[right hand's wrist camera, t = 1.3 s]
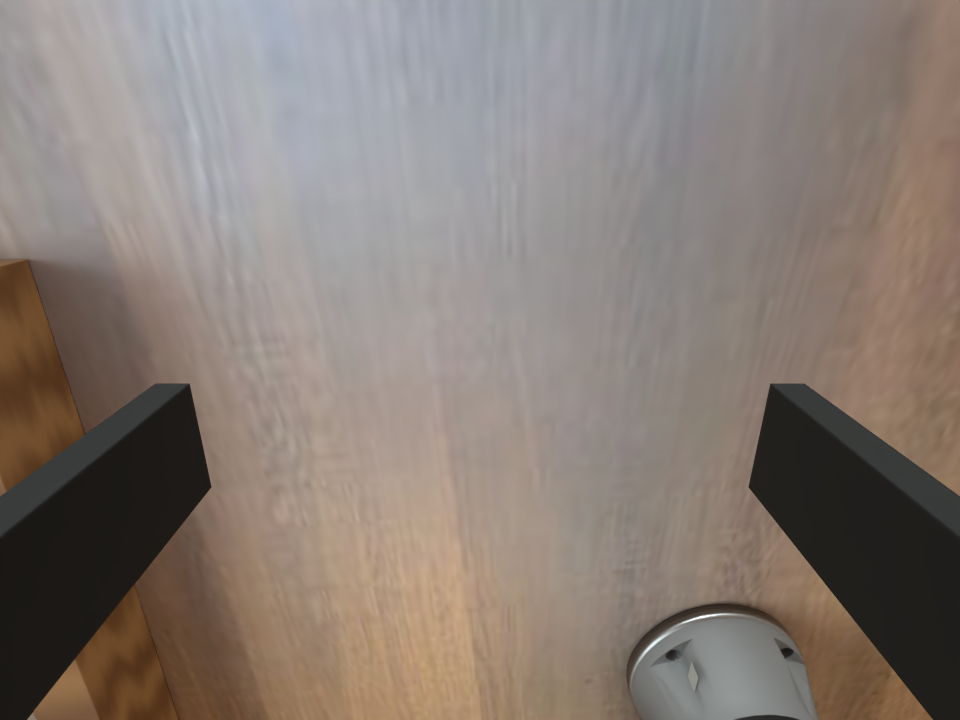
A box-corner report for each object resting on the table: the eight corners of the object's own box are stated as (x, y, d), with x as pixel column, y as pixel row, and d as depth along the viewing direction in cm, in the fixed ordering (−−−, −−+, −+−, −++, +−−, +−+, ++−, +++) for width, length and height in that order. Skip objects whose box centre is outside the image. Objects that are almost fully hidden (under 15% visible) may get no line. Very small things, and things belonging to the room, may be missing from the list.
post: (198, 778, 56) (159, 866, 49) (151, 779, 56) (105, 867, 49) (27, 258, 36) (-77, 285, 29) (-45, 260, 36) (-166, 287, 29)
